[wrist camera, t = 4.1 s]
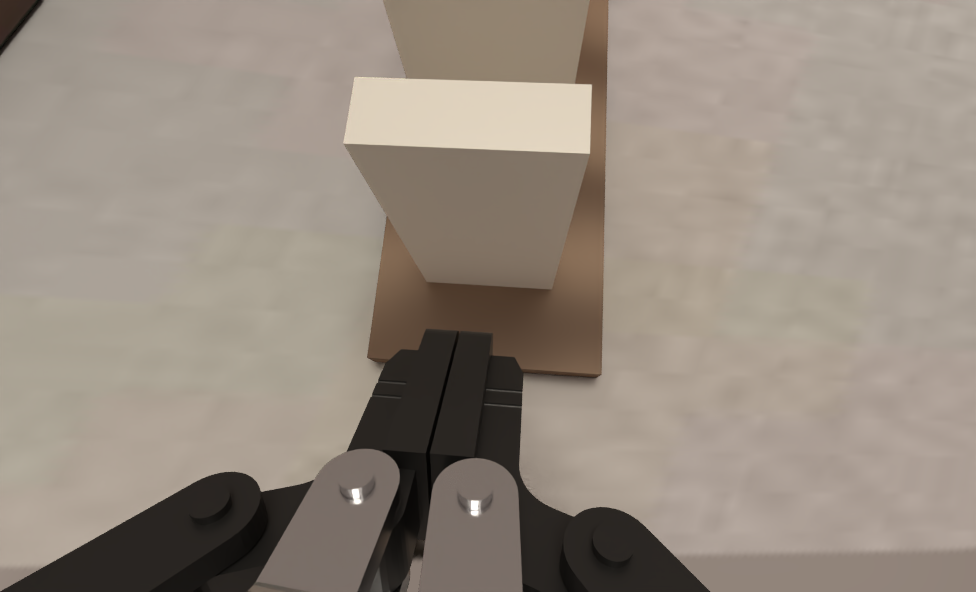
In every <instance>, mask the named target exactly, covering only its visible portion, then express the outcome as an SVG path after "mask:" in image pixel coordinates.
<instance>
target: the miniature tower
mask: <svg viewBox="0 0 976 592" xmlns="http://www.w3.org/2000/svg"><path fill="white" fill-rule="evenodd" d="M38 1H39V0H0V48H1V47H2V46H3V44H4V43H5V42H6V41H7V39H8V38H9V37H10V36H11V35H12V33H13V32H14V31H15V30H16V28H17V27H18V26H19V25H20V23H21V22H22V21H23V20H24V18H25V17H26V16H27V15H28V13H29V12H30V11H31V10H32V8H33V7H34V6H35V5H36V4H37V2H38Z"/></svg>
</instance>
